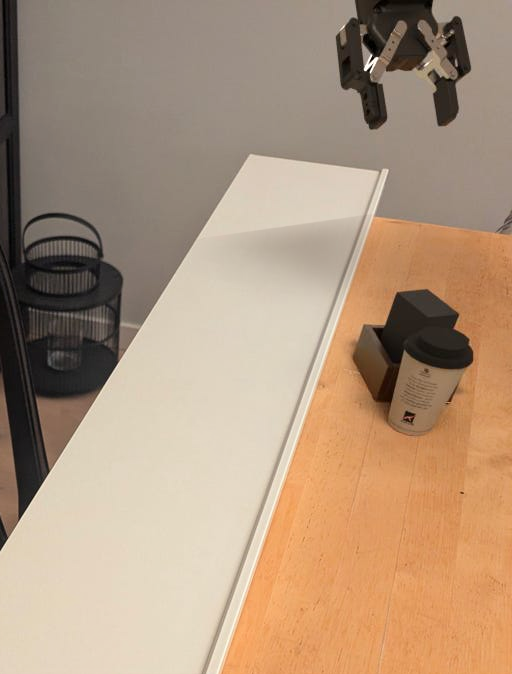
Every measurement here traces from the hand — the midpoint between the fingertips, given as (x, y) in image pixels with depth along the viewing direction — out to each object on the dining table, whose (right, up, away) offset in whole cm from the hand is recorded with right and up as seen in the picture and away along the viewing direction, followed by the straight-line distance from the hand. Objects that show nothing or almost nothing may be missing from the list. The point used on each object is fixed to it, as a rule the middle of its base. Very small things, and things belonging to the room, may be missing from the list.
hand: (413, 124), depth 96 cm
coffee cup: (+1, -31, +3) cm, 31 cm away
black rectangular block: (+2, -24, +9) cm, 25 cm away
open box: (+2, -24, +9) cm, 26 cm away
